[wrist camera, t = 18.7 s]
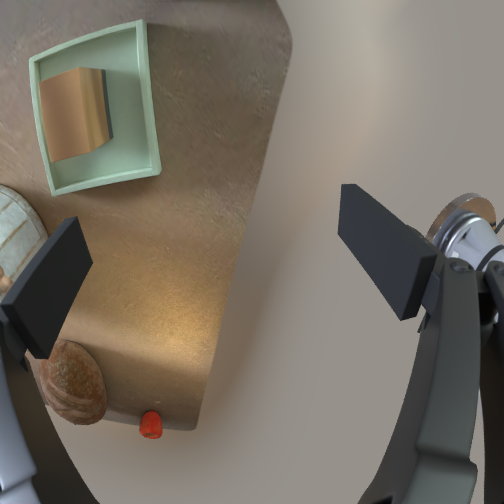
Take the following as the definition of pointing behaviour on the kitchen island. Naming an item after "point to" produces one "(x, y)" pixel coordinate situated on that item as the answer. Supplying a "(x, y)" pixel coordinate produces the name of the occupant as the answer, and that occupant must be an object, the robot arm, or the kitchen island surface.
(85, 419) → the bread
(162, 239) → the kitchen island surface
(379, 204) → the robot arm
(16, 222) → the white milk churn
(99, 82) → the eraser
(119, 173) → the tray
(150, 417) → the apple
